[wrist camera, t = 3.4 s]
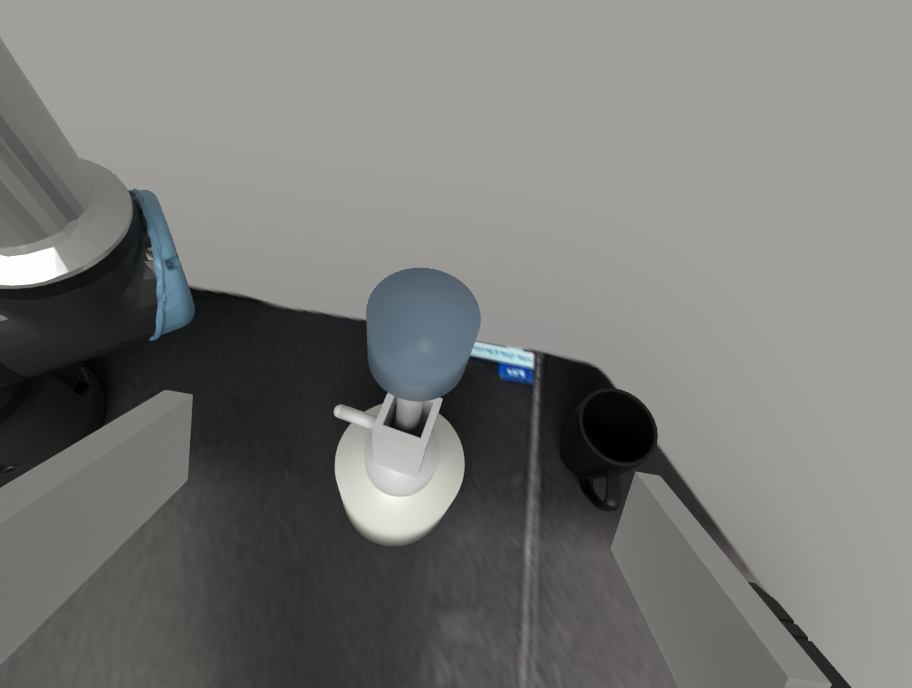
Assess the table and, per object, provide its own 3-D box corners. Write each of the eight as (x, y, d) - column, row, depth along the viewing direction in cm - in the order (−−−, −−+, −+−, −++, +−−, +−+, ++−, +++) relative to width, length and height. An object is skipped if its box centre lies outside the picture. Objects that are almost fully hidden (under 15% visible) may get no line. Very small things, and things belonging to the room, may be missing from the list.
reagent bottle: (324, 525, 47) (290, 464, 28) (367, 426, 53) (362, 321, 34) (428, 562, 47) (464, 525, 28) (460, 458, 53) (507, 370, 34)
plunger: (358, 440, 31) (347, 340, 20) (386, 375, 33) (391, 254, 22) (430, 466, 31) (462, 379, 19) (453, 399, 33) (492, 288, 22)
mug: (539, 512, 51) (570, 492, 43) (553, 412, 57) (582, 378, 49) (612, 533, 51) (657, 517, 43) (618, 430, 57) (659, 399, 49)
